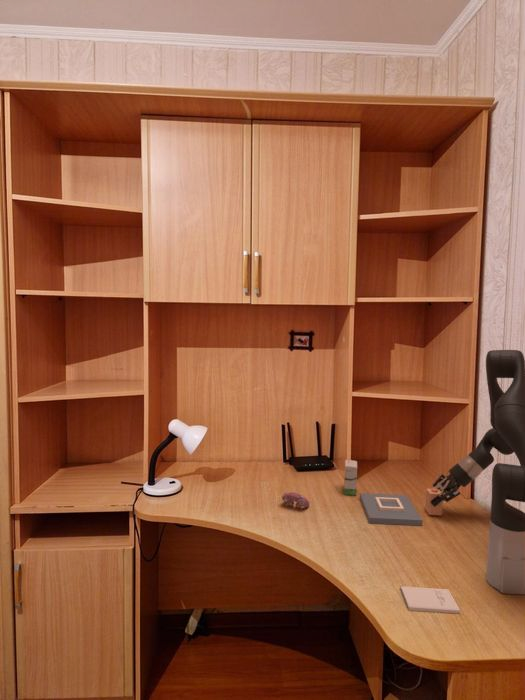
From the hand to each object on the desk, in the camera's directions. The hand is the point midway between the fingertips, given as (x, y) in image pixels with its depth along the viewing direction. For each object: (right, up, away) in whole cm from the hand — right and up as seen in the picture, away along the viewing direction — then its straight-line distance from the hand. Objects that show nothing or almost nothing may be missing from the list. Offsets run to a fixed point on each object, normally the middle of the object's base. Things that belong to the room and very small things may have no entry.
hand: (430, 501), depth 157 cm
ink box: (-26, -2, +18) cm, 31 cm away
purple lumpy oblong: (-49, -3, +4) cm, 49 cm away
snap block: (+1, -4, 0) cm, 4 cm away
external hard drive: (-19, -10, -47) cm, 52 cm away
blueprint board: (-15, -4, +1) cm, 15 cm away
